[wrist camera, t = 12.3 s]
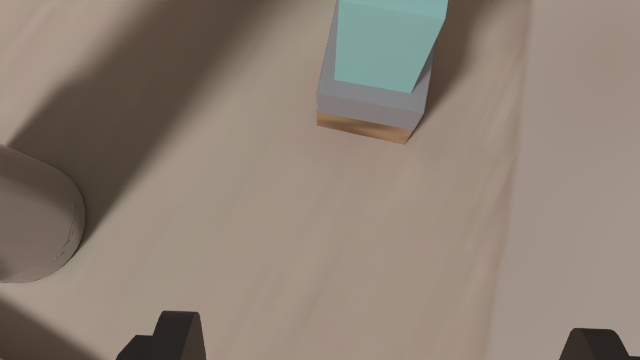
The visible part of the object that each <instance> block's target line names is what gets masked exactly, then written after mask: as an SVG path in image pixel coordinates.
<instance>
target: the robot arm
mask: <svg viewBox="0 0 640 360" xmlns="http://www.w3.org/2000/svg"><path fill="white" fill-rule="evenodd" d="M84 227H85V206H84V201H83V197H82V195H81V193H80V191H79V189H78V187H77V186H76V185H75V183H74V182H73V181H72V180H71V178H70V177H68V176H67V175H66V174H65V173H63V172H62V171H61V170H59V169H57V168H55V167H52V166H50V165H48V164H46V163H43V162H41V161H39V160H37V159H34V158H32V157H30V156H28V155H26V154H23V153H21V152H19V151H16V150H14V149H12V148H9V147H7V146H5V145H2V144H0V283H25V282H30V281H36V280H39V279H41V278H44V277H46V276H49V275H50V274H52V273H53V272H55V271H56V270H58V269H59V268H61V267H62V266H63V265H64V264H65V263H66V262H67V261H68V260H69V259H70V258H71V256H72V255H73V253H74V252H75V250H76V249H77V248H78V245H79V243H80V241H81V238H82V236H83V232H84ZM116 360H206V353H205V346H204V340H203V333H202V327H201V320H200V315H199V313H198V312H187V311H163V312H162V313H161V315H160V317H159V319H158V322H157V325H156V328H155V330H154V333H153V336H146V335H136V336H135V337H134V338H133V339H132V340H131V341H130V342H129V343H128V344H127V345H126V346H125V348H124V349H123V350H122V351H121V352H120V353H119V354H118V356H117V358H116ZM559 360H640V357H637V356H629V355H628V353H627V351H626V349H625V347H624V345H623V343H622V341H621V340H620V338H619V336H618V335H617V333H616V332H615V331H613V330H611V329H588V328H574V329H573V330H572V331H571V332H570V334H569V337H568V339H567V342H566V344H565V347H564V349H563V351H562V354H561V357H560V359H559Z"/></svg>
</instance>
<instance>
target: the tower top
mask: <svg viewBox="0 0 640 360" xmlns="http://www.w3.org/2000/svg"><path fill="white" fill-rule="evenodd" d="M338 11H339V0H337V1H336V5H335V10H334V15H333V19H332V24H331V29H330V33H329V38H328V43H327V47H326V52H325V57H324V61H323V66H322V70H321V75H320V80H319V84H318V89H317V112H320V113H325V114H331V115H336V116H341V117H346V118H351V119H357V120H362V121H367V122H372V123H377V124H382V125H388V126H393V127H398V128H403V129H408V130H413V131H414V129H415V127H416V126H417V124H418V122H419V121H420V119H421V117H422V116H423V114H424V109H425V104H426V98H427V92H428V87H429V81H430V75H431V69H432V64H433V58H434V52H435V47H436V41H437V38H436V40H435V42H434V44H433V46H432V49H431V51H430V53H429V55H428V57H427V59H426V61H425V64H424V66H423V68H422V70H421V72H420V74H419V77H418V79H417V81H416V83H415V85H414V87H413V89H412V92H411V94H410V93H405V92H399V91H394V90H388V89H383V88H377V87H371V86H366V85H360V84H355V83H349V82H344V81H338V80H334V77H335V61H336V44H337V28H338Z"/></svg>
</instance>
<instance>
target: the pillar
mask: <svg viewBox="0 0 640 360" xmlns="http://www.w3.org/2000/svg"><path fill="white" fill-rule="evenodd" d="M447 4H448V0H339V11H338V28H337V44H336V61H335V77H334V80H338V81H344V82H349V83H355V84H360V85H366V86H371V87H377V88H383V89H388V90H394V91H399V92H405V93H410V94H411V92H412V89H413V87H414V85H415V83H416V81H417V79H418V77H419V74H420V72H421V70H422V68H423V66H424V64H425V61H426V59H427V57H428V55H429V53H430V51H431V49H432V46H433V44H434V42H435V40H436V38H437V36H438V34H439V31H440V29H441V27H442V25H443V23H444V21H445V17H446V11H447Z"/></svg>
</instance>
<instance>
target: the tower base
mask: <svg viewBox="0 0 640 360" xmlns="http://www.w3.org/2000/svg"><path fill="white" fill-rule="evenodd" d="M317 126H322V127H326V128H331V129H336V130H340V131H345V132H349V133H354V134H359V135H363V136H368V137H372V138H377V139H381V140H386V141H391V142H395V143H400V144H404V145H405V143H406V142H407V140H408V138H409V136H410V135H411V133H412V131H413V130H408V129H403V128H398V127H393V126H388V125H382V124H377V123H372V122H367V121H362V120H357V119H351V118H346V117H341V116H336V115H331V114H325V113H320V112H317Z"/></svg>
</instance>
